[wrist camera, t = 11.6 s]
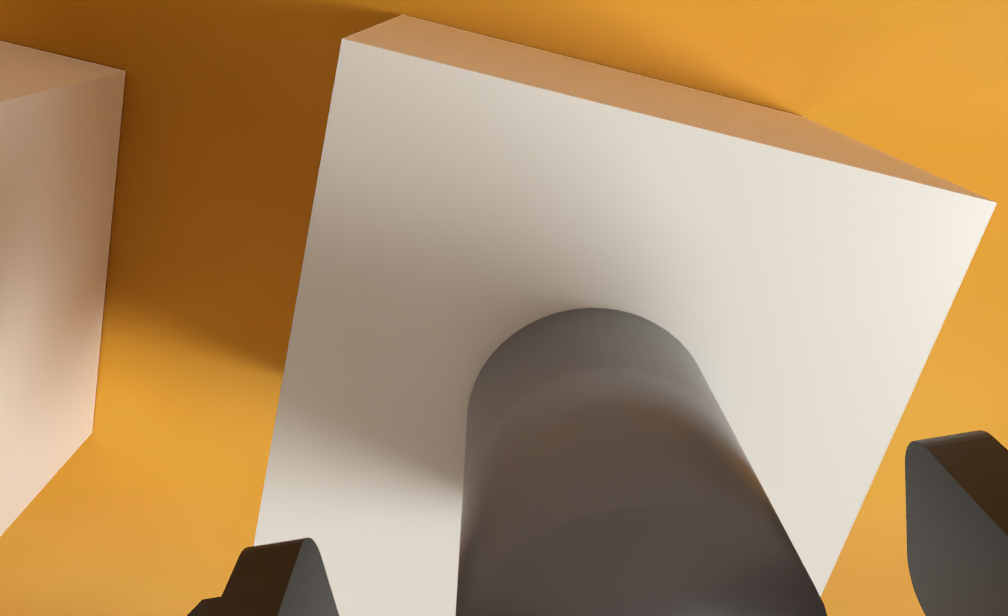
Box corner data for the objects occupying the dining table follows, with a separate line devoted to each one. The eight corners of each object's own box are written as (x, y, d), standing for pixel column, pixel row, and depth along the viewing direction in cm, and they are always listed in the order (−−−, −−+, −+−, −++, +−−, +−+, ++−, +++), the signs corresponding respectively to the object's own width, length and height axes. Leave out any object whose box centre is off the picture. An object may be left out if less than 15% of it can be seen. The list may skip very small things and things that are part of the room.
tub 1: (678, 463, 23) (897, 1035, 10) (329, 389, 22) (119, 917, 10) (803, 116, 20) (1321, 345, 7) (402, 14, 19) (232, 82, 6)
